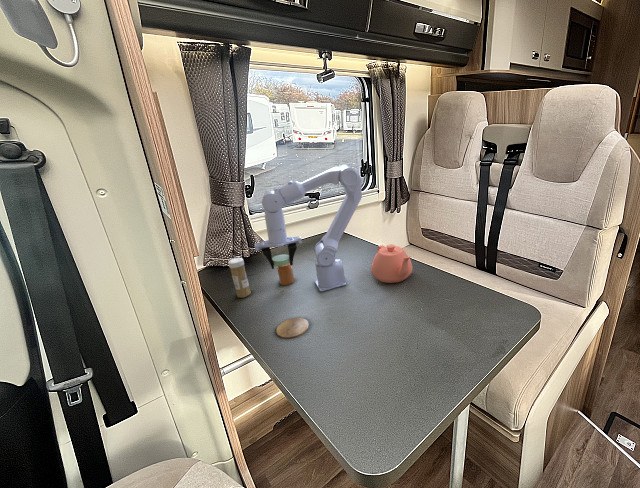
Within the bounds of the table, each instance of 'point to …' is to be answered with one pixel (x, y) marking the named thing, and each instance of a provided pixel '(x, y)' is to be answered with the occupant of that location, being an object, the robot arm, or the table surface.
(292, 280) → the jar
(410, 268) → the teapot
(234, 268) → the sprinkles bottle
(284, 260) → the lid
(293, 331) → the coaster
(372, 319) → the table surface
